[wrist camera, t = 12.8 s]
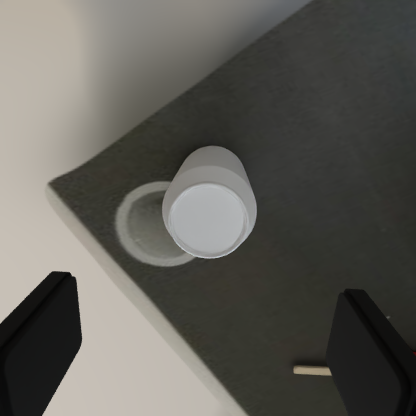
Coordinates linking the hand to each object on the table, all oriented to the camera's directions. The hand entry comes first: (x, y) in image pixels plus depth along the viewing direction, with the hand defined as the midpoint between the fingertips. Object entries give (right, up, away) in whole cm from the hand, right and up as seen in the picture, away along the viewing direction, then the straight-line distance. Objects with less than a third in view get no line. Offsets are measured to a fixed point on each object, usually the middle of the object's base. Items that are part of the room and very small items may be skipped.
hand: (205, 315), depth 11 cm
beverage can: (+1, +7, +19) cm, 20 cm away
